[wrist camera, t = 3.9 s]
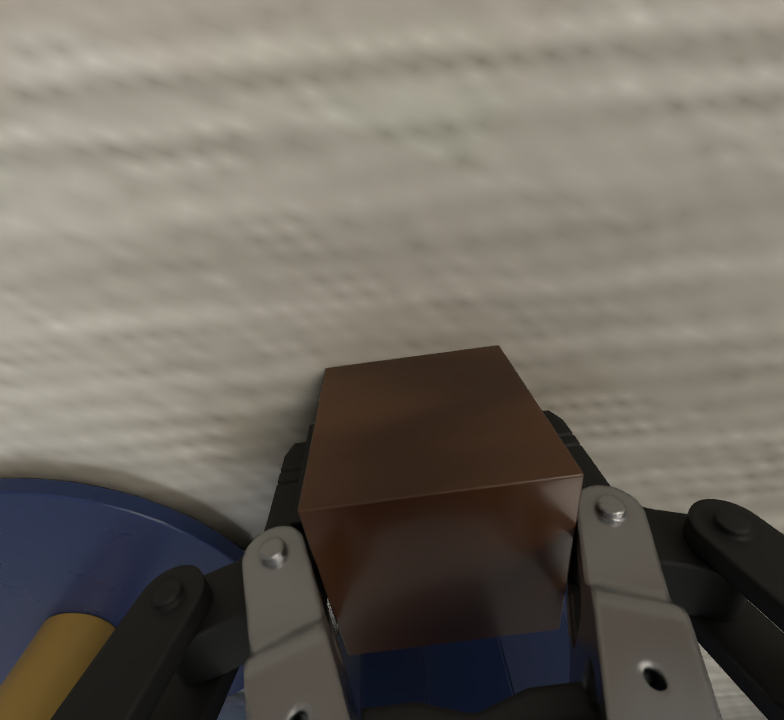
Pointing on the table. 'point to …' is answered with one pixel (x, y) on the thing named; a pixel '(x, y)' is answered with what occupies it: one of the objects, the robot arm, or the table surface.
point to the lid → (80, 580)
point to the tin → (460, 670)
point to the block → (438, 502)
